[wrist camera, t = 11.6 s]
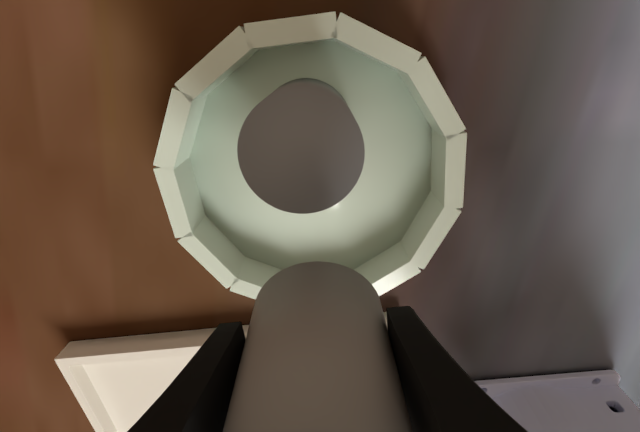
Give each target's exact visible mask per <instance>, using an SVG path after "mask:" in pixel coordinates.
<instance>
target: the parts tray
mask: <svg viewBox="0 0 640 432" xmlns="http://www.w3.org/2000/svg"><path fill="white" fill-rule="evenodd" d="M383 313H384V317H385V321H386V325H387V312H383ZM242 327H243V330H244V334H245V338H246V336H247V332H248V328H249V325H242ZM215 329H216V328H209V329H198V330H187V331H176V332H166V333H155V334H144V335H134V336H123V337H112V338H101V339H91V340H80V341H70V342H69V343H68V344H67V345H66V346H65V348H64V349H63V350H62V351H61V352H60V353H59V355H58V356H57V357H56V358H55V359H54V360H55V362H56V363H57V365H58V367H59V369H60V370H61V372H62V374H63V376H64V377H65V379H66V381H67V383H68V384H69V386H70V388H71V390H72V391H73V393H74V395H75V397H76V398H77V400H78V402H79V404H80V405H81V407H82V409H83V411H84V412H85V414H86V416H87V418H88V419H89V421H90V423H91V425H92V426H93V428H94V430H95V432H127V431H128V430H129V429H130V428H131V427H132V426H133V425H134V424H135V423H136V422H137V421H138V420H139V419H140V418H141V416H142V415H143V414H144V413H145V412H146V411H147V410H148V409H149V408H150V407H151V405H152V404H153V403H154V402H155V401H156V400H157V399H158V398H159V397H160V396H161V394H162V393H163V392H164V391H165V390H166V389H167V388H168V386H169V385H170V384H171V383H172V382H173V380H174V379H175V378H176V377H177V376H178V374H179V373H180V372H181V371H182V370H183V368H184V367H185V366H186V365H187V364H188V362H189V361H190V360H191V359H192V357H193V356H194V355H195V354H196V353H197V351H198V350H199V349H200V348H201V346H202V345H203V344H204V343H205V341H206V340H207V339H208V338H209V336H210V335H211V334H212V333H213V331H214V330H215ZM387 329H388V328H387Z"/></svg>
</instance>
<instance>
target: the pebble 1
mask: <svg viewBox="0 0 640 432" xmlns="http://www.w3.org/2000/svg"><path fill="white" fill-rule="evenodd" d="M237 155H238V162H239V166H240V169H241V172H242V175H243V177H244V179H245V181H246V183H247V184H248V185H249V187H250V188H251V190H252V191H253V192H254V193H255V194H256V195H257V196H258V197H259V198H260V199H262V200H263V201H264V202H266V203H267V204H269V205H271V206H273V207H274V208H277V209H279V210H282V211H286V212H290V213H297V214H308V213H315V212H319V211H323V210H325V209H328V208H330V207H332V206H334V205H336V204H337V203H338V202H340V201H341V200H343V199H344V198H345V197H346V196H347V195H348V194H349V193H350V192H351V190H352V189H353V188H354V186H355V185H356V183H357V181H358V179H359V177H360V175H361V172H362V169H363V164H364V157H365V148H364V140H363V136H362V133H361V130H360V127H359V125H358V123H357V122H356V120H355V118H354V116H353V114H352V112H351V110H350V109H349V107H348V105H347V103H346V101H345V100H344V98H343V97H342V95H341V94H340V93H339V92H338V91H337V90H336V89H335V88H333V87H332V86H331V85H329V84H327V83H325V82H323V81H321V80H317V79H312V78H300V79H295V80H291V81H289V82H286V83H285V84H283V85H281V86H280V87H278V88H277V89H276V90H275V91H273V92H272V93H271V94H270V95H268V96H267V97H266V98H265V99H263V100H262V101H261V102H260V103H259V104H257V105H256V106H255V107H254V108H253V109H252V111H251V112H250V113H249V114H248V116H247V117H246V119H245V121H244V123H243V125H242V127H241V130H240V133H239V138H238V144H237Z"/></svg>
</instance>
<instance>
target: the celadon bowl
mask: <svg viewBox="0 0 640 432" xmlns="http://www.w3.org/2000/svg"><path fill="white" fill-rule="evenodd" d="M421 54H422V53H421V52H419V51H417V50H415V49H413V48H411V47H409V46H407V45H405V44H403V43H401V42H399V41H397V40H395V39H393V38H391V37H389V36H387V35H385V34H383V33H381V32H379V31H377V30H375V29H373V28H371V27H369V26H367V25H365V24H363V23H361V22H359V21H357V20H355V19H353V18H351V17H349V16H347V15H345V14H343V13H341V12H340V14H339V16H338V18H337V20H336V11H335V12H327V13H320V14H312V15H304V16H297V17H289V18H282V19H274V20H267V21H259V22H251V23H244V27H242V26H238V27H237V28H236V29H235V30H234V31H233V32H231V33H230V34H229V35H228V36H227V37H226V38H225V39H224V40H223V41H221V42H220V43H219V44H218V45H217V46H216V47H215V48H214V49H213V50H212V51H210V52H209V53H208V54H207V55H206V56H205V57H204V58H203V59H202V60H200V61H199V62H198V63H197V64H196V65H195V66H194V67H193V68H192V69H190V70H189V71H188V72H187V73H186V74H185V75H184V76H183V77H182V78H181V79H179V80H178V81H177V82H176V83H175V86H176V87H174V88H172V90H171V94H170V98H169V102H168V106H167V110H166V114H165V118H164V123H163V127H162V131H161V135H160V139H159V143H158V147H157V151H156V155H155V159H154V163H153V165H155V166H157V167H155V168H154V169H153V170H154V173H155V176H156V179H157V182H158V185H159V188H160V192H161V195H162V198H163V201H164V204H165V207H166V210H167V213H168V216H169V220H170V223H171V226H172V229H173V232H174V235H175V238H180V239H179V240H178V242H179V243H180V244H181V245H182V246H183V247H184V248H185V249H186V250H187V251H188V252H189V253H190V254H191V255H192V256H193V257H194V258H195V259H196V260H197V261H198V262H199V263H200V264H201V265H202V266H203V267H205V268H206V269H207V270H208V271H209V272H210V273H211V274H212V275H213V276H214V277H215V278H216V279H217V280H218V281H219V282H220V283H221V284H222V285H223V286H224V287H225V288H226V289H227V288H229V287H230V286H231V288H230V291H232V292H235V293H238V294H241V295H244V296H247V297H250V298H253V299H256V298H257V295H258V293H259V291H260V290H261V288H262V287H263V285H264V284H265V283H266V282H267V281H268V280H269V279H270V278H271V277H272V276H274V275H275V274H276V273H278V272H280V271H281V270H283V269H285V268H288V267H290V266H293V265H296V264H300V263H305V262H315V261H322V262H331V263H336V264H340V265H343V266H346V267H348V268H351V269H353V270H355V271H356V272H358V273H359V274H361V275H362V276H364V277H365V278H366V279H367V280H368V281H369V282H370V283H371V284H372V285H373V287H374V288H375V290H376V291H377V294H378V296H381V295H382V294H384V293H386V292H387V291H389V290H391V289H393V288H394V287H396V286H398V285H400V284H401V283H403V282H405V281H406V280H408V279H410V278H412V277H413V276H415V275H417V274H419V273H420V272H421V270H420V268H421V269H425V267H426V265H427V264H428V262H429V261H430V259H431V258H432V256H433V255H434V253H435V252H436V250H437V249H438V247H439V246H440V244H441V242H442V241H443V239H444V238H445V236H446V235H447V233H448V232H449V230H450V229H451V227H452V226H453V224H454V223H455V221H456V219H457V218H458V216H459V215H460V213H461V212H462V211H461V210H460V209H459V208H463V198H464V179H465V161H466V143H467V133H466V132H464V130H465V129H466V128H465V126H464V124H463V122H462V121H461V119H460V117H459V115H458V113H457V112H456V110H455V108H454V106H453V105H452V103H451V101H450V99H449V98H448V96H447V94H446V92H445V90H444V89H443V87H442V85H441V83H440V82H439V80H438V78H437V76H436V75H435V73H434V71H433V69H432V67H431V66H430V64H429V62H428V60H427V59H426V57H425V56H421ZM300 78H312V79H317V80H321V81H323V82H325V83H327V84H329V85H331V86H332V87H333V88H335V89H336V90H337V91H338V92H339V93H340V94H341V95H342V97H343V98H344V100H345V101H346V103H347V105H348V107H349V109H350V110H351V112H352V114H353V116H354V118H355V120H356V122H357V123H358V125H359V127H360V130H361V133H362V136H363V140H364V148H365V157H364V164H363V169H362V172H361V175H360V177H359V179H358V181H357V183H356V185H355V186H354V188H353V189H352V190H351V192H350V193H349V194H348V195H347V196H346V197H345V198H344V199H343V200H341V201H340V202H338V203H337V204H336V205H334V206H332V207H330V208H328V209H325V210H323V211H319V212H315V213H308V214H297V213H290V212H286V211H282V210H279V209H277V208H274V207H273V206H271V205H269V204H267V203H266V202H264V201H263V200H262V199H260V198H259V197H258V196H257V195H256V194H255V193H254V192H253V191H252V190H251V188H250V187H249V185H248V184H247V183H246V181H245V179H244V177H243V175H242V172H241V169H240V166H239V162H238V155H237V144H238V138H239V133H240V130H241V127H242V125H243V123H244V121H245V119H246V117H247V116H248V114H249V113H250V112H251V111H252V109H253V108H254V107H255V106H256V105H257V104H259V103H260V102H261V101H262V100H263V99H265V98H266V97H267V96H268V95H270V94H271V93H272V92H273V91H275V90H276V89H277V88H278V87H280V86H281V85H283V84H285V83H286V82H289V81H291V80H295V79H300Z"/></svg>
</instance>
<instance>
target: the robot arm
mask: <svg viewBox="0 0 640 432" xmlns="http://www.w3.org/2000/svg"><path fill="white" fill-rule="evenodd" d="M387 328H388V334H389V338H390V342H391V346H392V350H393V354H394V358H395V362H396V366H397V370H398V374H399V378H400V382H401V386H402V390H403V394H404V398H405V402H406V406H407V410H408V414H409V418H410V422H411V426H412V430H413V432H640V409H639V408H638V407H637V406H636V405H635V404H634V403H633V402H632V400H631V399H630V398H629V397H628V396H627V395H626V394H625V393H624V392H623V391H622V389H621V388H620V387H619V386H618V385H619V382H620V375H619V374H618V373H617V372H616V371H615V370H599V371H588V372H576V373H564V374H552V375H540V376H528V377H516V378H504V379H492V380H480V381H473V380H472V378H471V377H470V376H469V375H468V374H467V373H466V372H465V371H464V370H463V369H462V368H461V367H460V366H459V365H458V363H457V362H456V361H455V360H454V359H453V358H452V357H451V356H450V355H449V354H448V352H447V351H446V350H445V349H444V348H443V347H442V346H441V344H440V343H439V342H438V341H437V340H436V338H435V337H434V336H433V335H432V334H431V332H430V331H429V330H428V329H427V327H426V326H425V325H424V323H423V322H422V321H421V320H420V318H419V317H418V315H417V314H416V313H415V311H414V310H413V309H412V308H411V307H410V306H403V307H392V308H387ZM245 340H246V338H245V334H244V330H243V327H242V323H241V322H233V323H222V324H219V325H218V327H217V328H216V329H215V330H214V331H213V333H212V334H211V335H210V336H209V338H208V339H207V340H206V341H205V343H204V344H203V345H202V346H201V348H200V349H199V350H198V351H197V353H196V354H195V355H194V356H193V357H192V359H191V360H190V361H189V362H188V364H187V365H186V366H185V367H184V368H183V370H182V371H181V372H180V373H179V374H178V376H177V377H176V378H175V379H174V380H173V382H172V383H171V384H170V385H169V386H168V388H167V389H166V390H165V391H164V392H163V393H162V394H161V396H160V397H159V398H158V399H157V400H156V401H155V402H154V403H153V404H152V405H151V407H150V408H149V409H148V410H147V411H146V412H145V413H144V414H143V415H142V416H141V418H140V419H139V420H138V421H137V422H136V423H135V424H134V425H133V426H132V427H131V428H130V429H129V430H128V431H127V432H223V428H224V424H225V420H226V416H227V412H228V408H229V404H230V400H231V396H232V392H233V388H234V384H235V380H236V376H237V372H238V368H239V364H240V360H241V356H242V352H243V348H244V344H245Z"/></svg>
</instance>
